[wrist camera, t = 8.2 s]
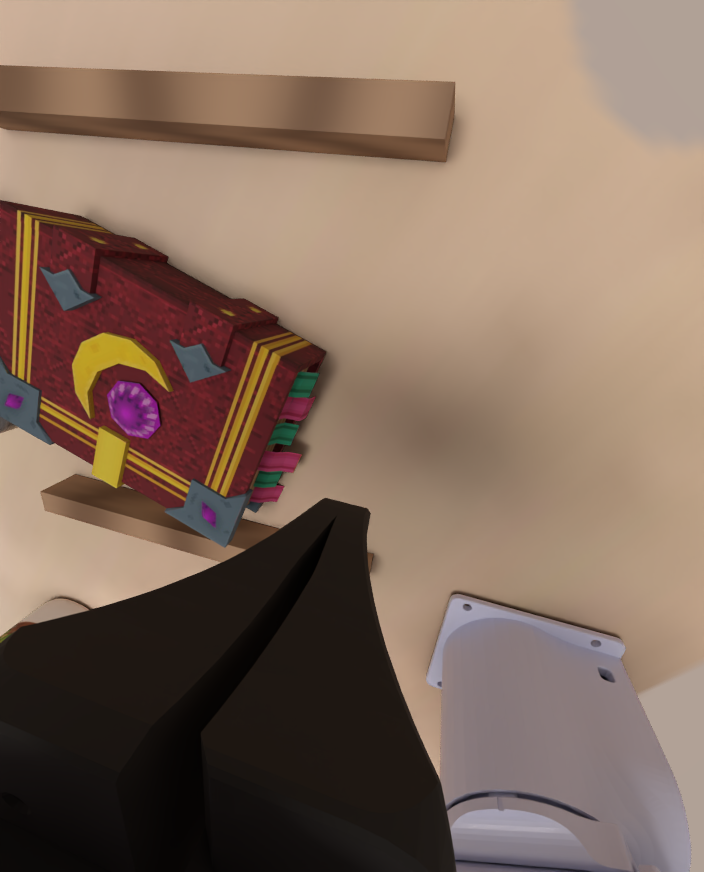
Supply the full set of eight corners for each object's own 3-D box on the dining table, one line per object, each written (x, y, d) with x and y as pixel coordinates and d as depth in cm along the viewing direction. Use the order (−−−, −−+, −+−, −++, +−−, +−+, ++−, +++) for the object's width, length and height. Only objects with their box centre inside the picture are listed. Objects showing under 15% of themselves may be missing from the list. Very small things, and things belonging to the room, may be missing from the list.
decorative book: (87, 210, 19) (-23, 186, 15) (353, 357, 19) (323, 379, 14) (66, 392, 24) (-21, 415, 20) (277, 514, 24) (237, 566, 19)
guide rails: (454, 114, 14) (455, 82, 12) (369, 572, 23) (361, 603, 21) (-2, 91, 18) (-67, 63, 16) (78, 492, 27) (45, 510, 25)
